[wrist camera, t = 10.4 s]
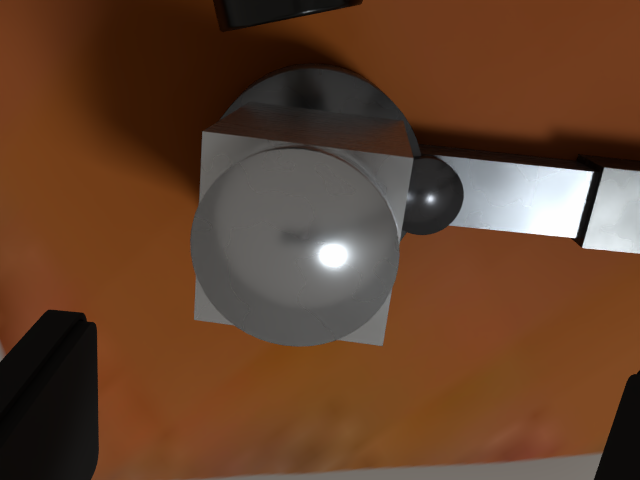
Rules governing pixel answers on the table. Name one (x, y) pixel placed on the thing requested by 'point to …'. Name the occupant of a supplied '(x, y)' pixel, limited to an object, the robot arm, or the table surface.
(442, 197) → the ratchet
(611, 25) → the table surface
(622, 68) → the table surface
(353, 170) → the domed grey cube
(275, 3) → the pneumatic valve
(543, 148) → the table surface
